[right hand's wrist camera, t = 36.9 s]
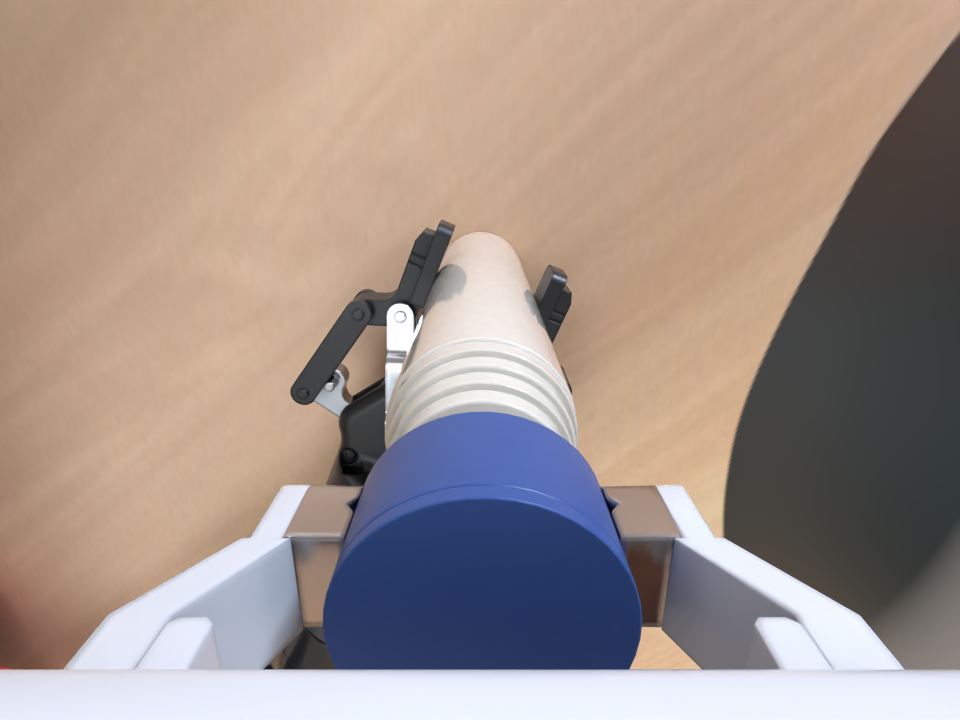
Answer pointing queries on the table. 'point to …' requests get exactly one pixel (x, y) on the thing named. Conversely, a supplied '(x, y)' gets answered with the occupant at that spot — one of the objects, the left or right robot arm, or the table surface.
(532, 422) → the cap
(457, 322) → the bottle
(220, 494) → the table surface
